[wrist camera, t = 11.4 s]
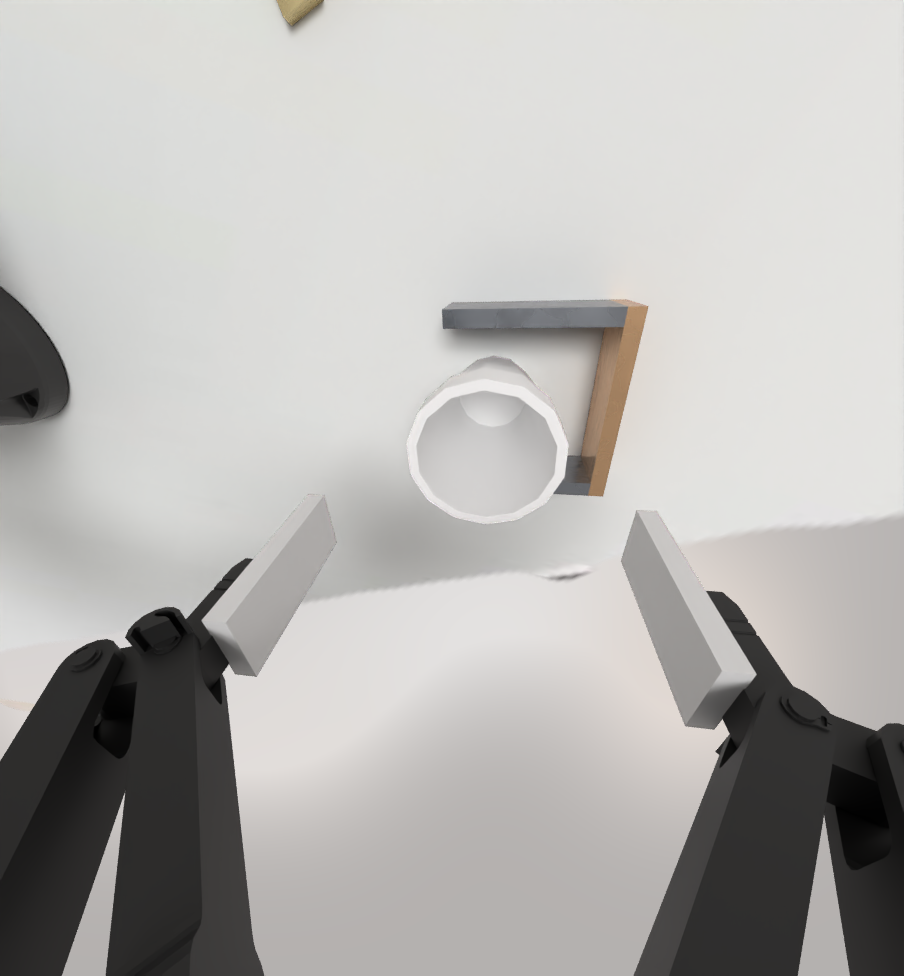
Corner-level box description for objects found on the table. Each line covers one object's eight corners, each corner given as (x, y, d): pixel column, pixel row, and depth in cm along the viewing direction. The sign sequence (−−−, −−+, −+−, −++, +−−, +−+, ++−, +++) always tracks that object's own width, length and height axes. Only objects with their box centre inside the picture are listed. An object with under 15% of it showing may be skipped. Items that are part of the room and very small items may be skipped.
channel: (455, 462, 36) (448, 488, 32) (452, 302, 28) (442, 309, 24) (591, 467, 34) (602, 496, 30) (626, 299, 27) (648, 306, 22)
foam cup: (542, 441, 34) (558, 527, 23) (446, 441, 35) (416, 521, 24) (551, 333, 28) (577, 376, 18) (438, 337, 30) (397, 380, 19)
